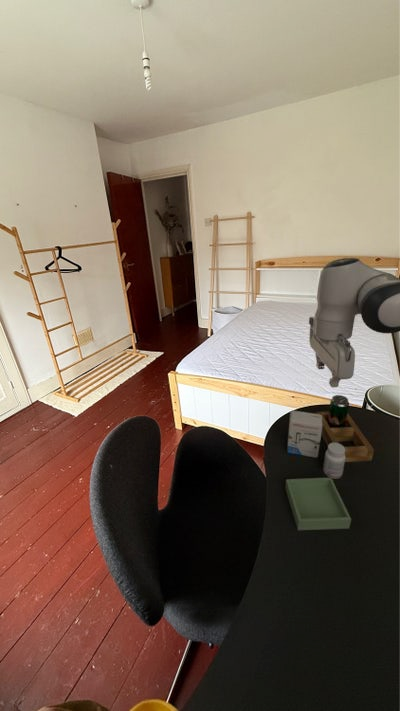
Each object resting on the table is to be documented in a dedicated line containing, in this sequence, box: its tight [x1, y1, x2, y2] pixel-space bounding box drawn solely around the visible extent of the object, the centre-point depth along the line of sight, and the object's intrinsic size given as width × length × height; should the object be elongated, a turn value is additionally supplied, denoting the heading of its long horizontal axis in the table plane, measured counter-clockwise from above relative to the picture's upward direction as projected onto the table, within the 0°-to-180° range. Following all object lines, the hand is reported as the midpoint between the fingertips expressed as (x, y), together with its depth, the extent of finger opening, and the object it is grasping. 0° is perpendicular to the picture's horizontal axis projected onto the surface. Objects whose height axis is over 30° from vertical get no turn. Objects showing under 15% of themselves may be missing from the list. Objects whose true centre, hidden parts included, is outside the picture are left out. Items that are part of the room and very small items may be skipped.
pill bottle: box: [322, 442, 346, 479], centre depth 77 cm, size 5×5×8 cm
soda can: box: [327, 394, 350, 428], centre depth 91 cm, size 5×5×12 cm
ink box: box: [286, 410, 323, 459], centre depth 84 cm, size 9×5×12 cm, turn 71°
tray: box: [284, 477, 352, 531], centre depth 70 cm, size 11×11×3 cm
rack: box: [315, 410, 375, 463], centre depth 89 cm, size 10×18×4 cm, turn 179°
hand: (326, 376), depth 79 cm, fingers open, 8 cm apart
